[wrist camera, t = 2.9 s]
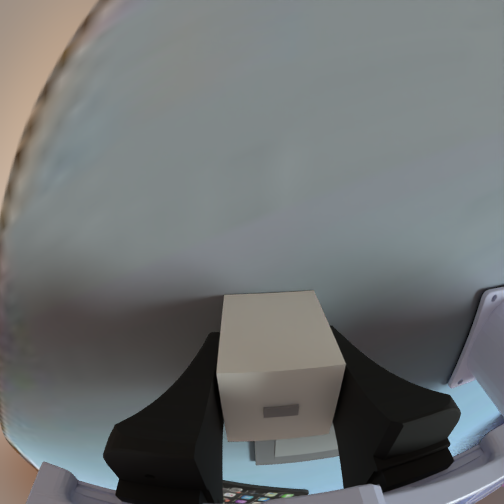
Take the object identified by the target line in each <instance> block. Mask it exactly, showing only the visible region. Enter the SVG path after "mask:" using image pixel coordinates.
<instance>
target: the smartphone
mask: <svg viewBox="0 0 504 504" xmlns="http://www.w3.org/2000/svg"><path fill="white" fill-rule="evenodd" d="M308 494H309V492H308V490H305V489H289V488H278V487H276V488H275V487H268V486H258V485H250V484H243V483H237V482H231V481H225V480H223V504H255V503H262V502H265V501H268V500H273V499H279V498H286V497H295V496H304V495H308Z"/></svg>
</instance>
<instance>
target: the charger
mask: <svg viewBox="0 0 504 504" xmlns="http://www.w3.org/2000/svg"><path fill="white" fill-rule="evenodd" d="M345 366H346V363H345V361H344V358H343V356H342V353H341V351H340V349H339V346H338V344H337V342H336V339H335V337H334V335H333V333H332V330H331V328H330V326H329V323H328V321H327V319H326V317H325V314H324V312H323V310H322V308H321V305H320V303H319V301H318V299H317V297H316V294H315V292H314V290H313V291H297V292H279V293H259V294H235V295H224V302H223V311H222V321H221V331H220V341H219V351H218V361H217V372H216V374H217V381H218V387H219V393H220V399H221V405H222V411H223V417H224V423H225V428H226V434H227V439H228V442H239V441H265V440H279V439H290V438H300V437H309V436H316V435H323V434H329V431H330V428H331V424H332V421H333V417H334V413H335V409H336V405H337V401H338V397H339V393H340V389H341V384H342V380H343V375H344V371H345Z"/></svg>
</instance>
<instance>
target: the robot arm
mask: <svg viewBox="0 0 504 504" xmlns="http://www.w3.org/2000/svg"><path fill="white" fill-rule="evenodd" d="M330 328H331V330H332V333H333V335H334V337H335V339H336V342H337V344H338V346H339V349H340V351H341V353H342V356H343V358H344V361H345V363H346V366H345V371H344V375H343V380H342V384H341V389H340V393H339V397H338V401H337V405H336V409H335V413H334V417H333V421H332V422H333V425H334V430H335V435H336V440H337V445H338V451H339V457H340V463H341V470H342V477H343V487H344V489H340V490H335V491H330V492H324V493H318V494H311V495H304V496H295V497H286V498H279V499H273V500H268V501H265V502H262V503H255V504H474V503H476V502H477V501H479V500H481V499H482V498H484V497H485V496H487V495H489V494H490V493H491V492H493V491H495V490H496V489H498V488H499V487H500V486H501V485H503V484H504V424H502V425H500V426H499V427H497V428H495V429H493V430H492V431H490V432H489V433H488V434H486V435H485V437H484V438H483V439H482V440H481V442H480V444H478V445H476V446H474V447H473V448H471V449H469V450H467V451H465V452H462V453H460V454H458V455H456V456H454V457H452V455H451V453H450V451H449V449H448V447H449V446H450V442H449V440H448V436H449V435H450V433H451V432H452V430H453V429H454V427H455V426H456V424H457V423H458V421H459V419H460V415H461V412H460V409H459V408H458V406H457V405H456V403H455V402H454V400H453V399H452V397H451V396H450V395H448V394H444V393H440V392H436V391H432V390H429V389H426V388H423V387H420V386H418V385H415V384H413V383H410V382H408V381H406V380H404V379H402V378H400V377H398V376H396V375H394V374H392V373H390V372H389V371H387V370H385V369H384V368H382V367H381V366H379V365H378V364H376V363H375V362H373V361H372V360H371V359H369V358H368V357H367V356H365V355H364V354H363V353H362V352H360V351H359V350H358V349H357V348H356V347H354V346H353V345H352V344H351V343H350V342H349V341H348V340H347V339H346V338H345V337H343V336H342V335H341V334H340V333H339V332H338V331H337V330H336V329H335V328H334V327H333V326H330ZM219 341H220V332H211V333H210V334H209V335H208V337H207V339H206V341H205V343H204V344H203V346H202V348H201V349H200V351H199V352H198V354H197V355H196V357H195V358H194V360H193V361H192V363H191V364H190V365H189V366H188V368H187V369H186V370H185V372H184V373H183V374H182V375H181V376H180V378H179V379H178V380H177V381H176V382H175V383H174V384H173V385H172V386H171V387H170V388H169V389H168V390H167V391H166V392H165V393H164V394H162V395H161V396H160V397H159V398H158V399H157V400H155V401H154V402H153V403H151V404H150V405H149V406H147V407H146V408H144V409H143V410H141V411H140V412H138V413H137V414H135V415H133V416H131V417H129V418H127V419H126V420H124V421H122V422H120V423H118V424H115V426H114V428H113V430H112V432H111V434H110V436H109V438H108V441H107V444H106V447H105V450H104V453H103V458H104V460H105V461H106V463H107V465H108V466H109V467H110V468H111V469H112V471H113V472H114V473H115V474H116V475H117V477H118V478H119V482H118V485H117V489H116V490H111V489H107V488H103V487H100V486H96V485H92V484H89V483H85V482H82V481H79V480H77V478H76V477H75V476H74V475H73V474H72V473H71V472H69V471H67V470H65V469H63V468H60V467H58V466H55V465H52V464H49V463H47V462H43V463H42V465H41V467H40V469H39V472H38V474H37V477H36V479H35V482H34V484H33V486H32V489H31V491H30V494H29V496H28V499H27V502H26V504H223V477H222V440H223V424H224V417H223V411H222V405H221V399H220V393H219V387H218V381H217V374H216V372H217V361H218V351H219ZM473 380H477V382H478V383H479V384H480V385H481V387H482V388H483V389H484V391H485V392H486V393H487V395H488V396H489V398H490V399H491V400H492V402H493V403H494V404H495V406H496V407H497V409H498V410H499V411H500V413H501V414H502V416H503V417H504V287H499V288H494V289H489V290H487V291H485V292H484V294H483V295H482V298H481V301H480V304H479V307H478V310H477V313H476V316H475V319H474V322H473V325H472V328H471V330H470V333H469V336H468V338H467V341H466V344H465V346H464V348H463V351H462V353H461V356H460V358H459V360H458V363H457V365H456V367H455V369H454V372H453V374H452V376H451V378H450V380H449V382H448V385H449V387H450V388H454V387H457V386H460V385H463V384H465V383H468V382H471V381H473Z"/></svg>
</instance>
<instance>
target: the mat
mask: <svg viewBox="0 0 504 504" xmlns="http://www.w3.org/2000/svg"><path fill="white" fill-rule="evenodd" d="M254 443H255V460H256V465H270V464H283V463H293V462H302V461H310V460H317V459H324V458H330V457H336V456H339V451H338V445H337V440H336V435H335V430H334V425H333V422H332V424H331V428H330V431H329V434H323V435H316V436H309V437H300V438H290V439H279V440H265V441H254Z"/></svg>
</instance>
